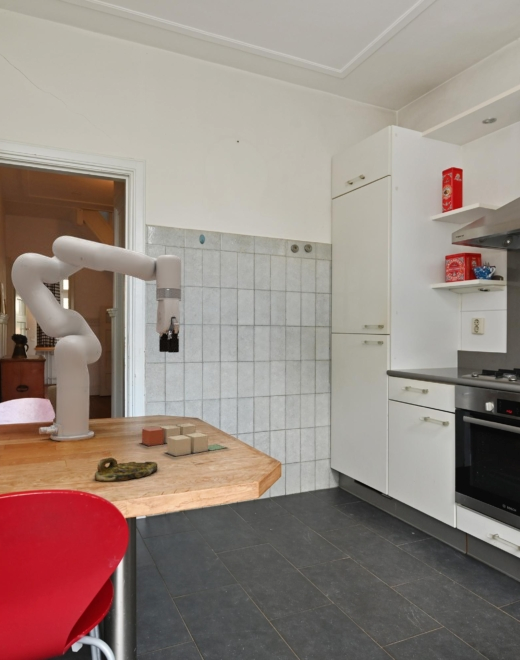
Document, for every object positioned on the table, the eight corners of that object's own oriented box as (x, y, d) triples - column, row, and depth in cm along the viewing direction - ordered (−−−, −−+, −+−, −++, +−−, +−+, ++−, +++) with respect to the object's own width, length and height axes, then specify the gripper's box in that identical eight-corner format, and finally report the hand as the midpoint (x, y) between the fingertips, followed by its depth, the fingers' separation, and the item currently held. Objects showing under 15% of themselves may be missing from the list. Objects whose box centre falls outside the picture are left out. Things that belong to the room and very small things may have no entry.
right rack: (174, 458, 123) (174, 440, 123) (163, 454, 127) (163, 436, 128) (228, 449, 134) (228, 432, 134) (216, 445, 138) (216, 429, 138)
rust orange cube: (149, 446, 135) (149, 431, 135) (141, 443, 139) (142, 428, 139) (163, 443, 138) (163, 429, 138) (156, 441, 142) (156, 427, 142)
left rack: (147, 448, 134) (148, 431, 134) (138, 444, 139) (138, 428, 139) (199, 440, 145) (199, 425, 145) (189, 437, 150) (189, 422, 150)
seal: (145, 468, 117) (86, 480, 106) (144, 449, 117) (85, 458, 107) (167, 472, 110) (106, 484, 100) (166, 451, 111) (105, 461, 100)
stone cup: (45, 423, 172) (46, 381, 173) (80, 420, 178) (80, 380, 179) (49, 430, 159) (50, 385, 159) (87, 427, 165) (87, 383, 165)
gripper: (149, 297, 152) (149, 351, 152) (164, 292, 137) (164, 353, 136) (172, 298, 155) (172, 351, 155) (189, 293, 140) (189, 352, 140)
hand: (168, 352), depth 146 cm, fingers open, 9 cm apart
